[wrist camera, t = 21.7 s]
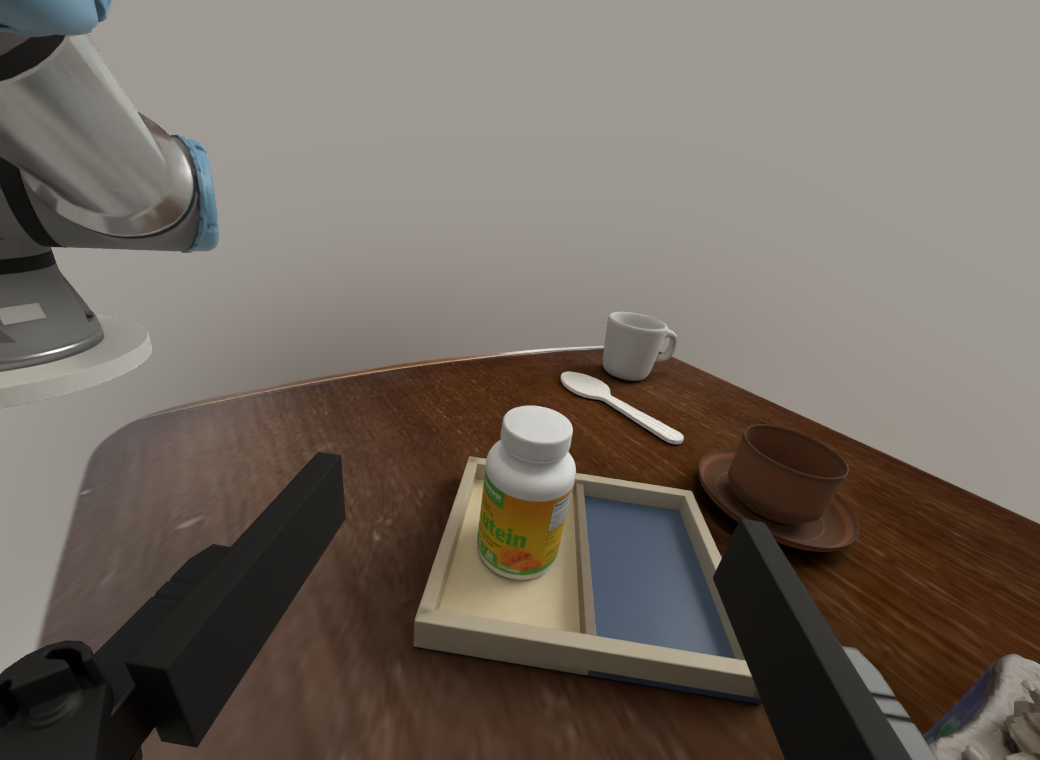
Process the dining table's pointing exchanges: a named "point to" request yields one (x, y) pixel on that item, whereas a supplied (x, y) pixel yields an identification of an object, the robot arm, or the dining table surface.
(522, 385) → the dining table surface
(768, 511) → the cup and saucer
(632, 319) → the cup
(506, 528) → the supplement bottle
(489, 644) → the sorting tray
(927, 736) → the flask
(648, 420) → the spoon
